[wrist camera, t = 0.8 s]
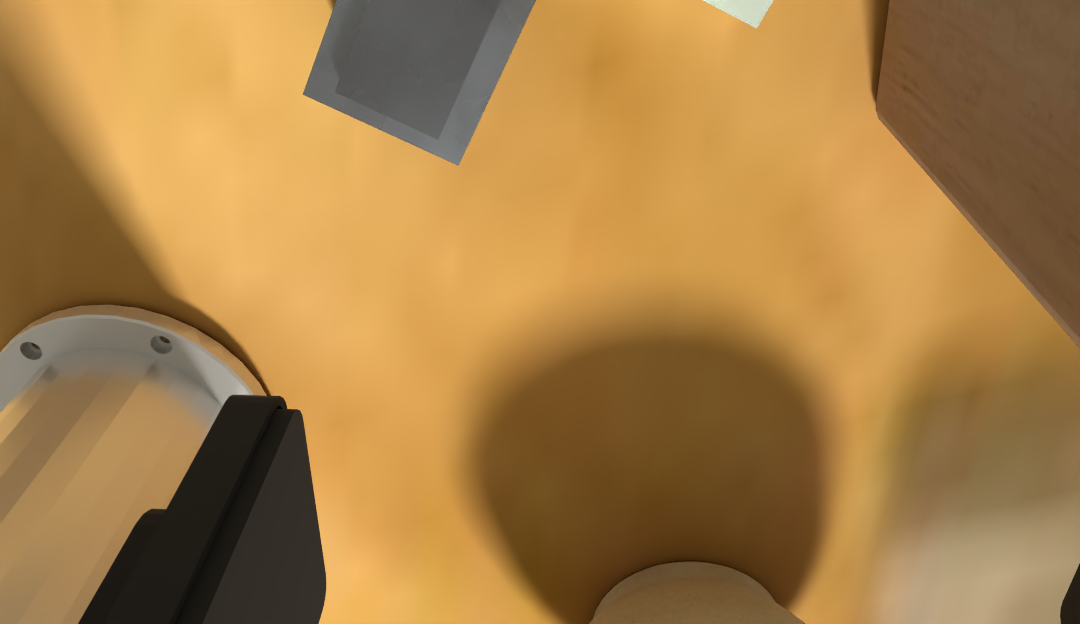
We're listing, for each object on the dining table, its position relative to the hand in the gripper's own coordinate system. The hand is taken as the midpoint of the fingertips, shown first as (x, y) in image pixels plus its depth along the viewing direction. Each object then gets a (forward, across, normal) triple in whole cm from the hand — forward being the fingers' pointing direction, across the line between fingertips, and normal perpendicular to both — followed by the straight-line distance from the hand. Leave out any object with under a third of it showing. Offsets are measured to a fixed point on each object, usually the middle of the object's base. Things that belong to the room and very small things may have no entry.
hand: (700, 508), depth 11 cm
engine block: (+24, +6, 0) cm, 25 cm away
